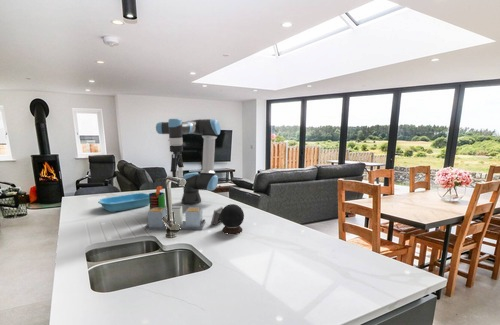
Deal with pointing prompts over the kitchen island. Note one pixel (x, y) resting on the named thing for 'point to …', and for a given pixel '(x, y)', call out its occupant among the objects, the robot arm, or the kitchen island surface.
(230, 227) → the black ball on stand
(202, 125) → the robot arm
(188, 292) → the kitchen island surface
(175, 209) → the block
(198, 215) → the rail
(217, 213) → the electrical switch
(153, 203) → the motor
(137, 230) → the kitchen island surface
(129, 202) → the casserole dish
